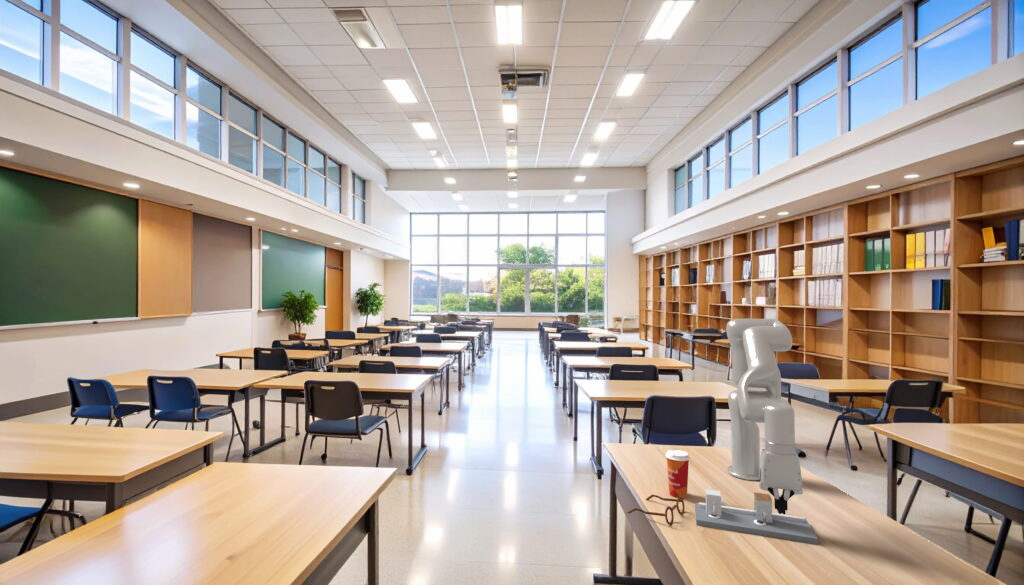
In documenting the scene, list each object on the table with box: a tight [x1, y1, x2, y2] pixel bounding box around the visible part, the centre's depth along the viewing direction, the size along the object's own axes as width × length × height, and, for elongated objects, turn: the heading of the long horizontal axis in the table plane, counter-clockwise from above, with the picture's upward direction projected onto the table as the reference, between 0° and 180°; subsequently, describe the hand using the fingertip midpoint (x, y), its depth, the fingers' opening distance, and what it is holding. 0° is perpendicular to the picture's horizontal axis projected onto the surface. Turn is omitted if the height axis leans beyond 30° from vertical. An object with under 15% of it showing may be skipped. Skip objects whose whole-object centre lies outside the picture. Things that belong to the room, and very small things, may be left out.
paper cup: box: [665, 449, 691, 499], centre depth 149 cm, size 8×8×14 cm
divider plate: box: [694, 488, 819, 545], centre depth 129 cm, size 12×30×8 cm, turn 69°
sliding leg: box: [753, 492, 773, 523], centre depth 128 cm, size 5×4×7 cm
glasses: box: [626, 494, 685, 526], centre depth 137 cm, size 13×13×5 cm
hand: (781, 511), depth 127 cm, fingers closed
